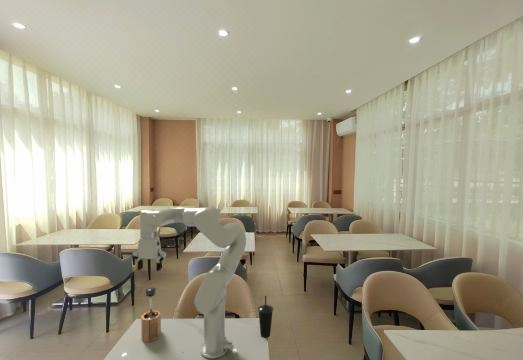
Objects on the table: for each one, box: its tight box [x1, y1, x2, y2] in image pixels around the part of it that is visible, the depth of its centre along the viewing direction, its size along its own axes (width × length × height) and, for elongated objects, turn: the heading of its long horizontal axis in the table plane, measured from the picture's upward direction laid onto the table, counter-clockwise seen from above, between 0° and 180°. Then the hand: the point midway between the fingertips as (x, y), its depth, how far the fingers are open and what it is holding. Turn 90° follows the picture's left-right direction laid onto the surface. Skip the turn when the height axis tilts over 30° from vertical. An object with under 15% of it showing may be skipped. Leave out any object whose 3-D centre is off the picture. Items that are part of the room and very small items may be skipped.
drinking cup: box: [257, 295, 274, 339], centre depth 131 cm, size 8×8×20 cm
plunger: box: [145, 286, 156, 319], centre depth 129 cm, size 5×5×15 cm
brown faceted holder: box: [140, 309, 162, 343], centre depth 130 cm, size 9×10×11 cm
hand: (149, 269), depth 128 cm, fingers open, 9 cm apart
